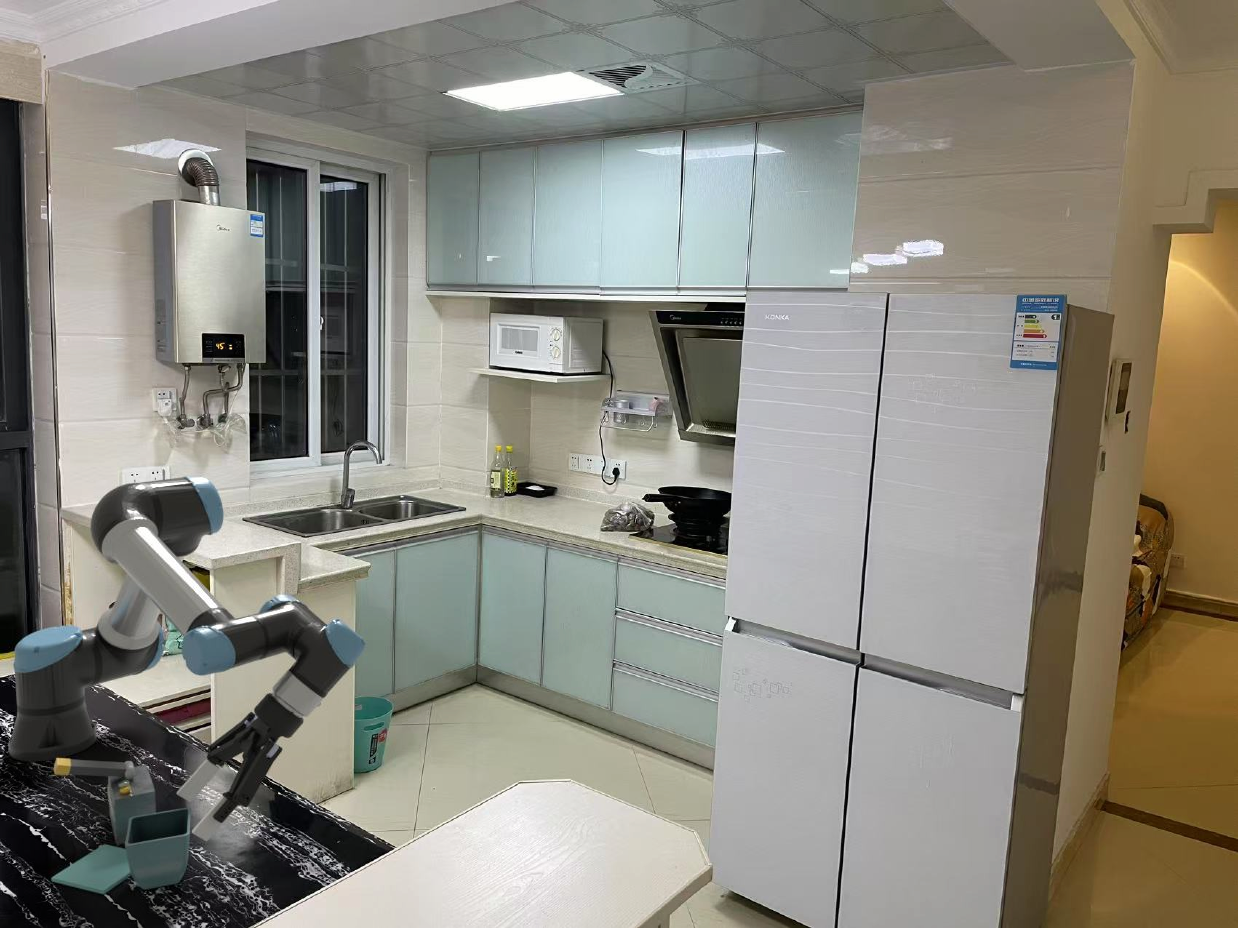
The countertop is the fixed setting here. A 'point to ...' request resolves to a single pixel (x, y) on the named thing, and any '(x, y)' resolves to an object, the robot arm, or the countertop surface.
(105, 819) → the countertop surface
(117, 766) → the lever
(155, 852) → the flower pot
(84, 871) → the pad
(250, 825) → the countertop surface
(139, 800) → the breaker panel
